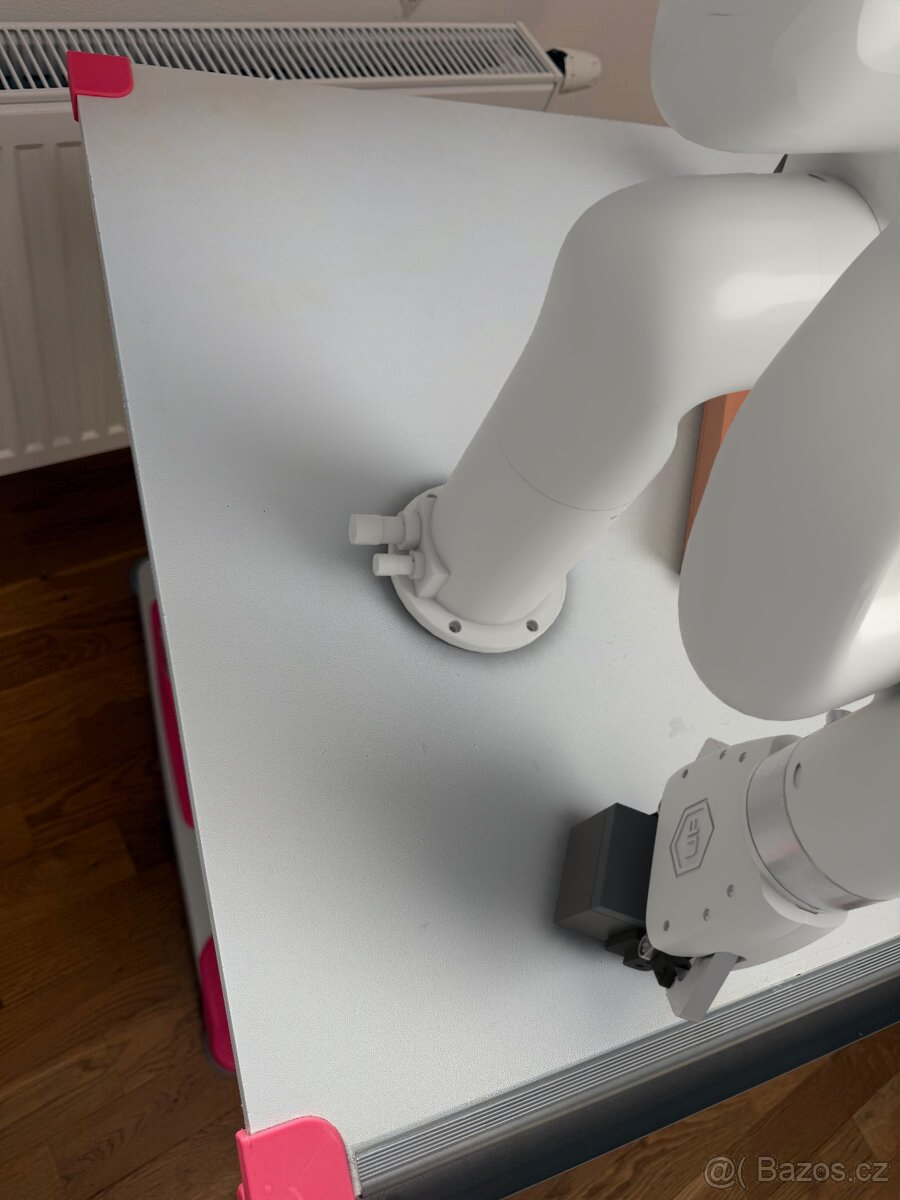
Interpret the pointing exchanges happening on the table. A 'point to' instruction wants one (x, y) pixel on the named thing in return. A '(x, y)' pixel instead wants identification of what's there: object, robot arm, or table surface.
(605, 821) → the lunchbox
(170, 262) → the table surface
